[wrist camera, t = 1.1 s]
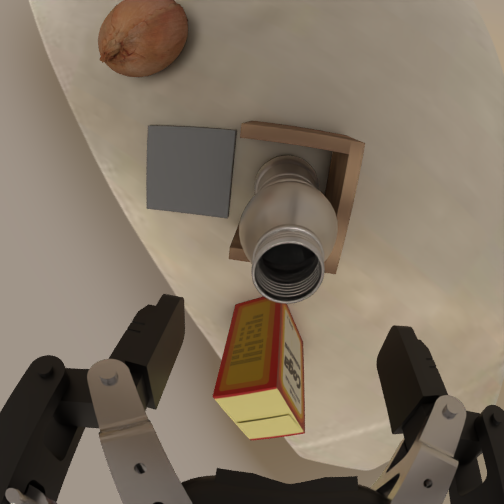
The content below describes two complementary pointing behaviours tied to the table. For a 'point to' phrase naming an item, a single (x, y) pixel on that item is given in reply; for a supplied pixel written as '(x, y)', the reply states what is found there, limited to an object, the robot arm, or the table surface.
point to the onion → (142, 36)
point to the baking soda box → (263, 371)
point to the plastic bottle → (287, 230)
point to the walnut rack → (339, 179)
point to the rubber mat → (190, 169)
